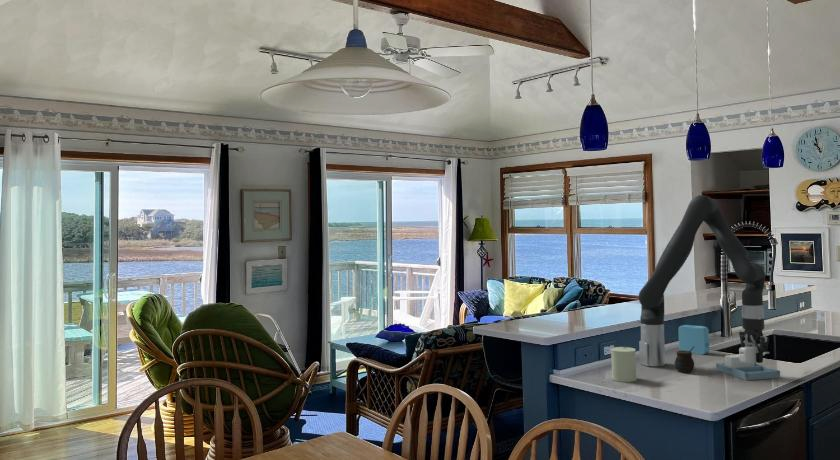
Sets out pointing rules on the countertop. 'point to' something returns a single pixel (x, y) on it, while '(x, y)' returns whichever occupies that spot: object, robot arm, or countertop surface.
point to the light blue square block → (694, 339)
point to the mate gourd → (684, 361)
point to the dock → (746, 369)
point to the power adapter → (748, 355)
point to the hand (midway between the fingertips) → (754, 360)
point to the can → (623, 364)
